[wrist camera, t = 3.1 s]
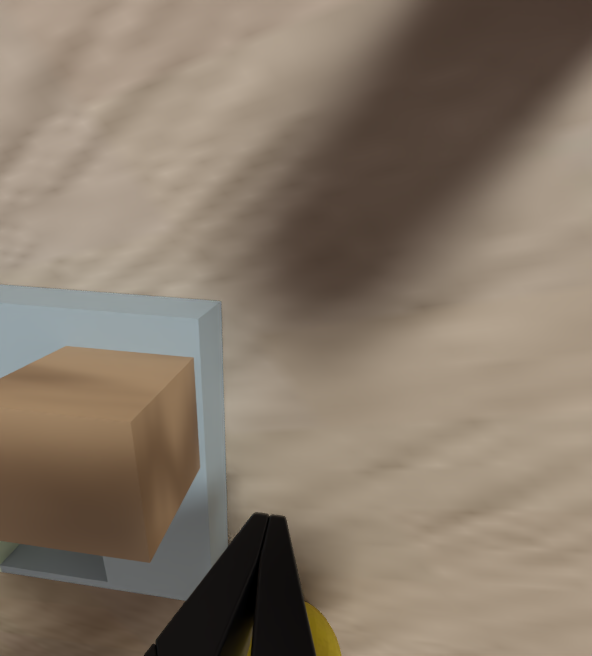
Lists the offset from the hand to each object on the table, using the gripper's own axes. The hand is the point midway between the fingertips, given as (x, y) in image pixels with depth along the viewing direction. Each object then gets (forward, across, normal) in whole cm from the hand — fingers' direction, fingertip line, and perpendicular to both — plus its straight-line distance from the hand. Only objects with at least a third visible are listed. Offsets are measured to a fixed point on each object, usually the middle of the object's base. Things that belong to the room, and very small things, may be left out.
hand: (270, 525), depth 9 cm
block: (+4, +6, 0) cm, 7 cm away
